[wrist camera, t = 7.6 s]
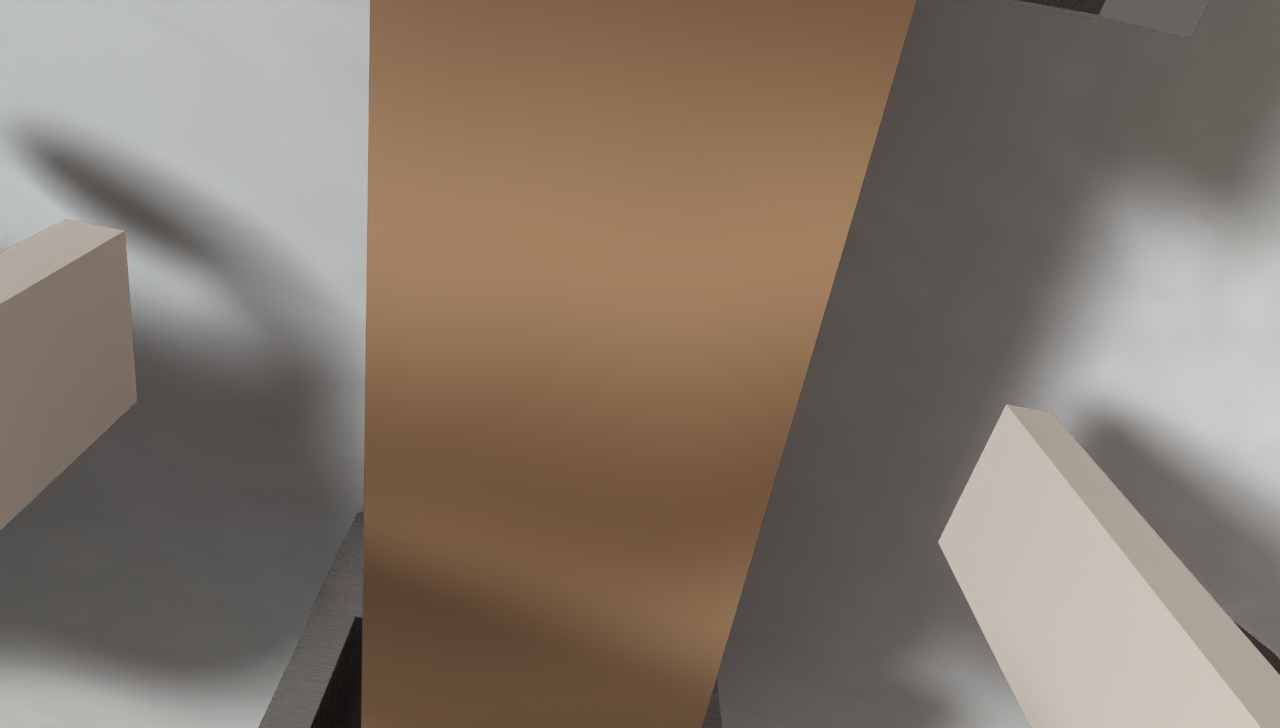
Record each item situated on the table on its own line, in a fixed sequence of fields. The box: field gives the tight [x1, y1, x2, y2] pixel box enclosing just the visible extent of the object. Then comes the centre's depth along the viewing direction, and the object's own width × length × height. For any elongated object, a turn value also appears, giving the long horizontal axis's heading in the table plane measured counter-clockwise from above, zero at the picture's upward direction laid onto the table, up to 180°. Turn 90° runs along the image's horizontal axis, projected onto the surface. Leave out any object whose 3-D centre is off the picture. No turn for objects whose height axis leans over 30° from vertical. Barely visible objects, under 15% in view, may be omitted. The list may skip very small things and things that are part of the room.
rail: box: [361, 0, 917, 728], centre depth 11 cm, size 19×4×4 cm, turn 171°
